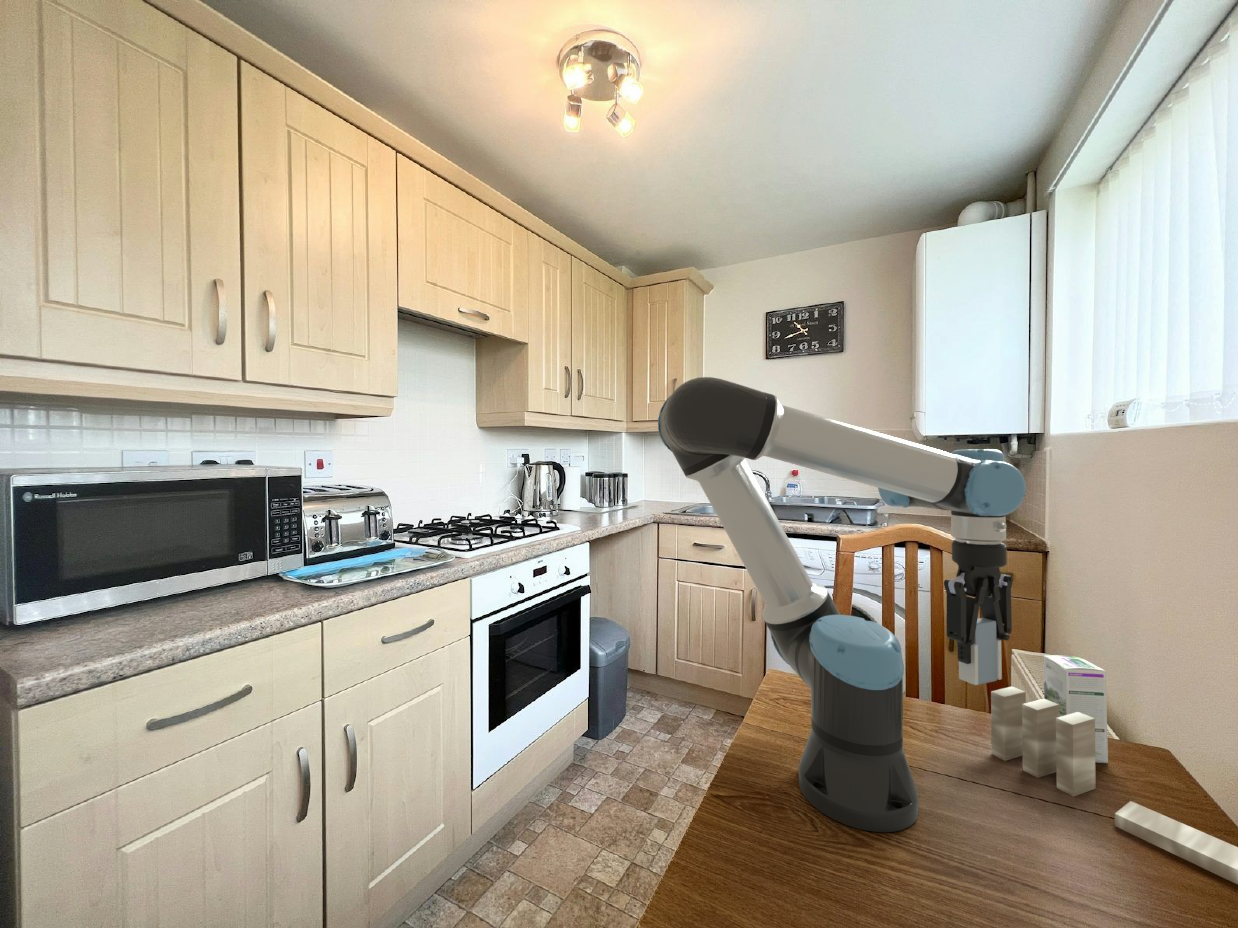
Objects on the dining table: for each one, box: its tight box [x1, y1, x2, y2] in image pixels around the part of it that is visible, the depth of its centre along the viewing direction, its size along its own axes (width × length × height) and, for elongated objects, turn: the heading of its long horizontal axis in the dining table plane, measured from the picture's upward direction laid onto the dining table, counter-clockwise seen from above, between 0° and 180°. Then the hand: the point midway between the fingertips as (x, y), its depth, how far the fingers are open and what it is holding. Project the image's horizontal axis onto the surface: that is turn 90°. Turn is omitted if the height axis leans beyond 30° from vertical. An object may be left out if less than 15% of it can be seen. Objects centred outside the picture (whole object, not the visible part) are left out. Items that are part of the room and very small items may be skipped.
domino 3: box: [1022, 698, 1059, 779], centre depth 75 cm, size 2×5×10 cm, turn 110°
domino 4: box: [1056, 712, 1096, 798], centre depth 71 cm, size 2×5×10 cm, turn 110°
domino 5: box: [1114, 800, 1238, 885], centre depth 60 cm, size 2×5×10 cm
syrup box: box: [1043, 654, 1109, 764], centre depth 80 cm, size 6×6×14 cm
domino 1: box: [966, 617, 998, 686], centre depth 83 cm, size 2×5×10 cm, turn 110°
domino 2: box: [990, 686, 1027, 761], centre depth 79 cm, size 2×5×10 cm, turn 110°
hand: (980, 678), depth 83 cm, fingers closed on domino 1, 5 cm apart
